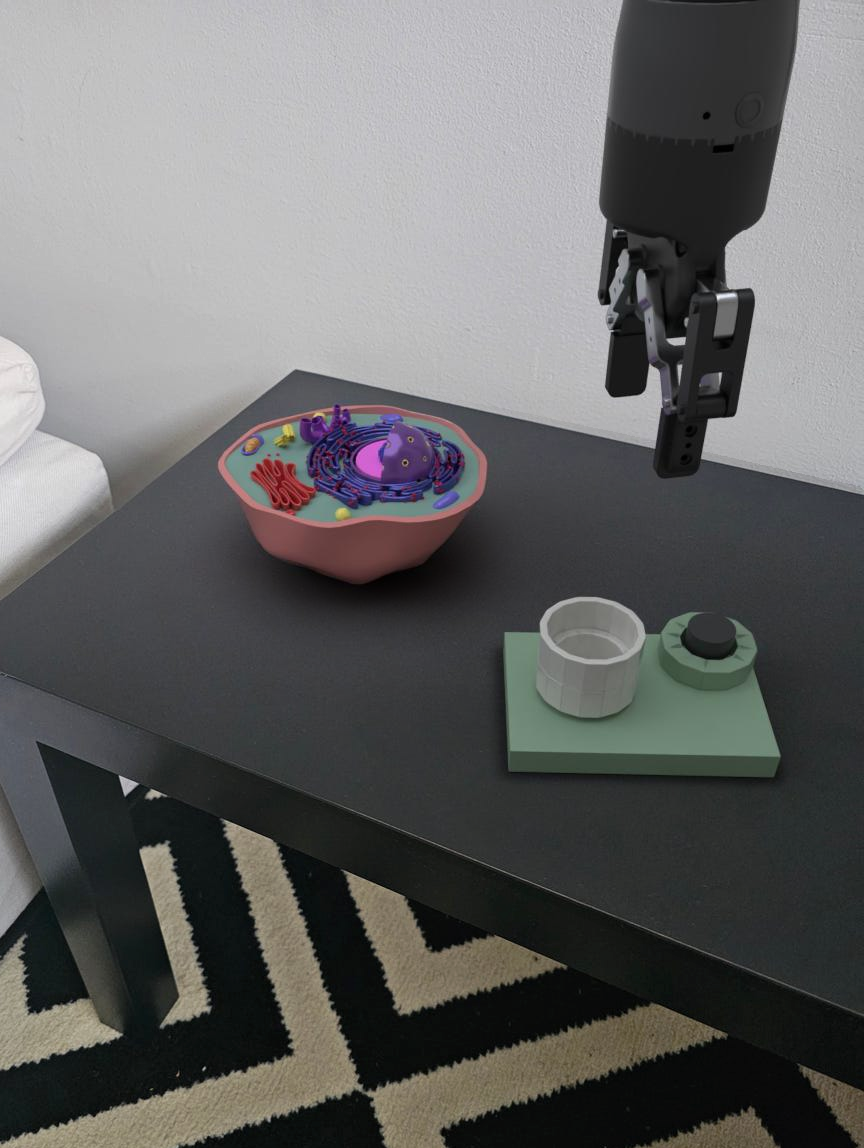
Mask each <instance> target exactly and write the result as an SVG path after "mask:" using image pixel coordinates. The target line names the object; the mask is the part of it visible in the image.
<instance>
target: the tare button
mask: <svg viewBox="0 0 864 1148" xmlns="http://www.w3.org/2000/svg"><path fill="white" fill-rule="evenodd" d="M726 617H727V616H725V615H723V614H719V613H715V612H709V613H700V614H697V615H694V616H693V617H692V618H691V619H690V620H689V622H688V626H687V630H686V635H685V640H684V644H685V647H686V649H687V650H688V651H689V652H690V653H691V654H692V655H695V656H697V657H700V658H703V659H706V660H721V659H724V658H726V657H727V656H728V655H729V654H730V653H731V651H732V647H733V643H734V639H735V635H736V627H735V625H734V624H733V622H732V621H731V620H729V619H728V618H729V617H727V618H726Z"/></svg>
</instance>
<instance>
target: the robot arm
mask: <svg viewBox="0 0 864 1148" xmlns="http://www.w3.org/2000/svg"><path fill="white" fill-rule="evenodd" d="M800 4H801V0H622V3H621V8H620V13H619V17H618V22H617V27H616V31H615V35H614V36H615V37H614V41H613V47H612V56H611V66H610V77H609V87H608V96H607V97H608V99H607V108H606V120H605V131H604V140H603V141H604V143H603V153H602V161H601V162H602V163H601V172H600V173H601V174H600V184H599V194H598V206H599V210H600V212H601V214H602V216H603V217H604V218H605V220H606V223H605V232H604V239H603V248H602V249H603V250H602V257H601V266H600V274H599V282H598V290H597V299H598V302H599V305H600V306H601V307H602V306H603V307H604V306H608V308H607V310H606V314H605V323H606V326H607V330H608V331H610V336H609V345H608V354H607V362H606V373H605V381H604V388H605V390H606V392H607V394H608V395H609V397H611V398H614V399H615V398H627V397H637V396H640V395H642V394H643V393H644V392H645V391H646V389H647V387H648V385H647V384H648V378H649V371H650V366H651V367H653V368H654V369H656V370H657V371H658V372H659V379H660V392H661V406H662V407H660V412H659V420H658V427H657V434H656V440H655V445H654V446H655V447H654V452H653V453H654V454H653V460H652V469H653V471H654V472H655V473H656V475H657V476H658V478H659V479H665V480H667V479H675V478H684V477H685V478H686V477H691V476H693V475H695V474H696V473H697V472H698V471H699V470H700V466H701V461H702V455H703V449H704V445H705V439H706V433H707V429H708V423H709V420H712V419H714V420H715V419H728V418H734V417H735V416H736V414H737V413H738V406H739V401H740V395H741V388H742V383H743V377H744V371H745V365H746V361H747V360H746V359H747V354H748V349H749V348H748V347H749V342H750V337H751V332H752V326H753V325H752V324H753V320H754V313H755V308H756V297H755V292H754V290H753V289H752V287H745V288H729V287H728V285H727V284H728V283H727V271H726V254H727V253H726V247H727V245H728V244H729V242H730V241H732V240H733V239H734V238H735V237H736V236H738V235H739V234H741V233H742V232H744V231H747V230H749V229H751V228H752V227H753V226H755V225H756V224H757V223H758V222H759V221H760V220H761V219H762V218H763V216H764V213H765V211H766V206H767V203H768V198H769V191H770V187H771V182H772V177H773V171H774V167H775V162H776V161H775V160H776V156H777V151H778V147H779V142H780V136H781V131H782V126H783V121H784V115H785V110H786V106H787V105H786V104H787V99H788V94H789V90H790V84H791V79H792V74H793V68H794V65H795V59H796V53H797V45H798V36H799V35H798V34H799V17H800ZM679 338H685V342H684V344H679V345H678V344H677V345H675V344H671V343H670V342H669V341H668V340H670V339H679ZM679 366H681V371H680V376H679ZM720 374H721V377H720ZM679 378H680V379H679Z"/></svg>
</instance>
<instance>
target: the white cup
mask: <svg viewBox="0 0 864 1148" xmlns="http://www.w3.org/2000/svg"><path fill="white" fill-rule="evenodd" d="M538 628H539V629H538V633H539V636H538V647H537V659H536V670H535V681H536V688H537V690H538V691H539V693H540V694H541V696H542V697H543V699H544V700H545V701H546V702H547V703H548V704H550V705H551V706H553V707H554V708H556V709H557V710H559V711H561V712H563V713H567V714H570V715H573V716H577V717H583V718H600V717H604V716H608V715H611V714H615V713H617V712H619V711H621V710H622V709H623V708H625V707H626V706H627V705H628V704H630V703H631V702H632V699H633V697H634V695H635V692H636V690H637V684H638V679H639V673H640V668H641V662H642V657H643V651H644V646H645V640H646V634H647V633H646V630H645V625H644V623H643V621H642V620H641V619H640V617H639V616H638V615H637V614H636V613H635V612H634V611H633V610H632V609H630V608H628V607H626V606H624V605H623V604H621V603H620V602H617V601H615V600H611V599H608V598H607V599H606V598H603V597H599V596H575V597H571V598H568V599H564V600H560V601H559V602H556V603H555V604H554V605H552V606H551V607H549V608H547V609H546V610H545V612H544V613H543V616H542V617H541V619H540V620H539V626H538Z"/></svg>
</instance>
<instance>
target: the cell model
mask: <svg viewBox="0 0 864 1148" xmlns="http://www.w3.org/2000/svg"><path fill="white" fill-rule="evenodd" d="M217 468H218V471H219V473H220V475H221V476H222V478H223V480H224V481H225V482H226V483H227V485H228V486H229V488H230V489H231V491H232V493H233V494H234V497H235V498H236V500H237V503H238V504H239V506H240V508H241V510H242V511H243V514H244V516H245V518H246V521H247V523H248V525H249V528H250V530H251V532H252V535H253V536H254V538H255V540H256V542H257V543H258V544H259V545H260V547H261V548H262V549H263V550H264V551H265V552H266V553H267V554H269V555H271V556H272V557H273V558H276V559H278V560H279V561H281V562H284V563H287V564H290V565H294V566H297V567H301V568H305V569H308V570H311V571H313V572H315V573H317V574H319V575H323V576H325V577H328V578H333V579H335V580H338V581H342V582H345V583H347V584H351V585H357V586H361V585H366V584H369V583H372V582H374V581H376V580H377V579H380V578H382V577H384V576H386V575H389V574H394V573H397V572H401V571H405V570H409V569H412V568H416V567H418V566H421V565H423V564H424V563H426V562H427V561H428V560H429V559H430V558H431V556H432V555H433V554H434V552H436V551H437V550H438V549H439V548H441V546H443V545H444V544H445V543H446V542H447V540H448V539H449V538H450V537H451V536H452V535H453V534H454V533H455V531H456V529H457V528H458V527H459V526H460V524H461V523H462V521H463V520H464V519H465V517H466V516H467V514H468V513H469V512H470V510H472V508H473V507H474V506H475V504H476V503H477V502H478V501H479V499H480V498H481V497H482V495H483V493H484V491H485V488H486V481H487V474H488V473H487V472H488V461H487V458H486V455H485V454H484V452H483V451H482V450H481V449H480V448H479V447H478V446H477V445H476V444H475V443H474V442H473V441H472V439H471V438H470V436H469V435H467V433H466V431H465V430H464V429H463V428H461V426H459V425H458V424H455V423H454V422H452V421H450V420H447V419H445V418H442V417H438V416H434V415H430V414H425V413H421V412H415V411H411V410H408V409H404V408H400V407H398V406H397V407H396V406H392V405H391V406H390V405H384V404H377V405H376V404H373V405H372V404H371V405H369V404H368V405H364V404H363V405H346V406H342V405H341V404H339V403H335V404H333V406H332V407H328V408H322V409H321V408H320V409H316V410H312V411H307V412H302V413H299V414H295V415H290V416H286V417H281V418H278V419H274V420H270V421H267V422H263V423H261V424H260V423H259V424H258V425H256V426H254V427H252V428H251V429H249V430H248V431H247V432H245V433H244V434H243V435H242V436H240V437H239V438H238V439H237V440H236V441H235V442H234V443H232V444H231V445H230V446H229V447H228V448H227V449H226V450H225V451H223V453H222V455H221V456H220V458H219V460H218V462H217Z"/></svg>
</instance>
